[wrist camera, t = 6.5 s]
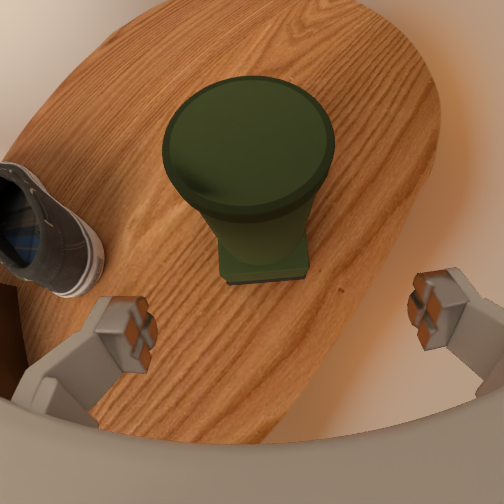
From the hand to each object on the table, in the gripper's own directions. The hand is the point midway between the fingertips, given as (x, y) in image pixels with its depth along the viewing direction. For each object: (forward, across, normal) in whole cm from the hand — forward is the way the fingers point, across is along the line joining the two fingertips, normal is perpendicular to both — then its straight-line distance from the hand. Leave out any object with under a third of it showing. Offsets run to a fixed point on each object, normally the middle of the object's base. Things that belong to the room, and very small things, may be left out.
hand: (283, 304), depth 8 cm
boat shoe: (+15, +25, +2) cm, 29 cm away
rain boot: (+14, +1, +3) cm, 14 cm away
